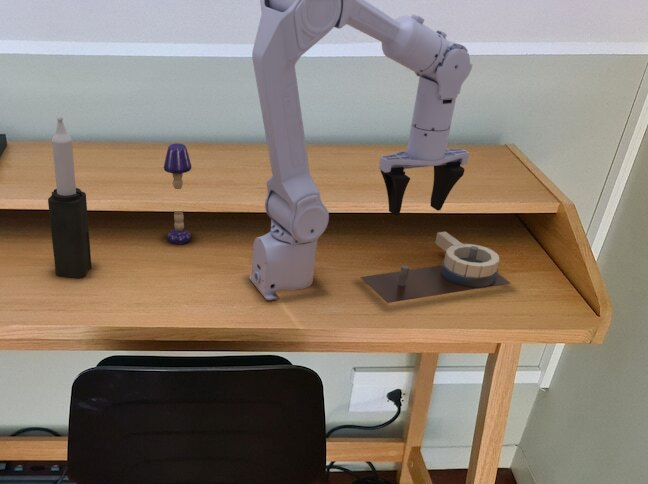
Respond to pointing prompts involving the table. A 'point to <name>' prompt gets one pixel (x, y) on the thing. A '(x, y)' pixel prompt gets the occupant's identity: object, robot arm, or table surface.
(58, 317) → the table surface
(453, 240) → the ring
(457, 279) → the rack
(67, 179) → the candle
